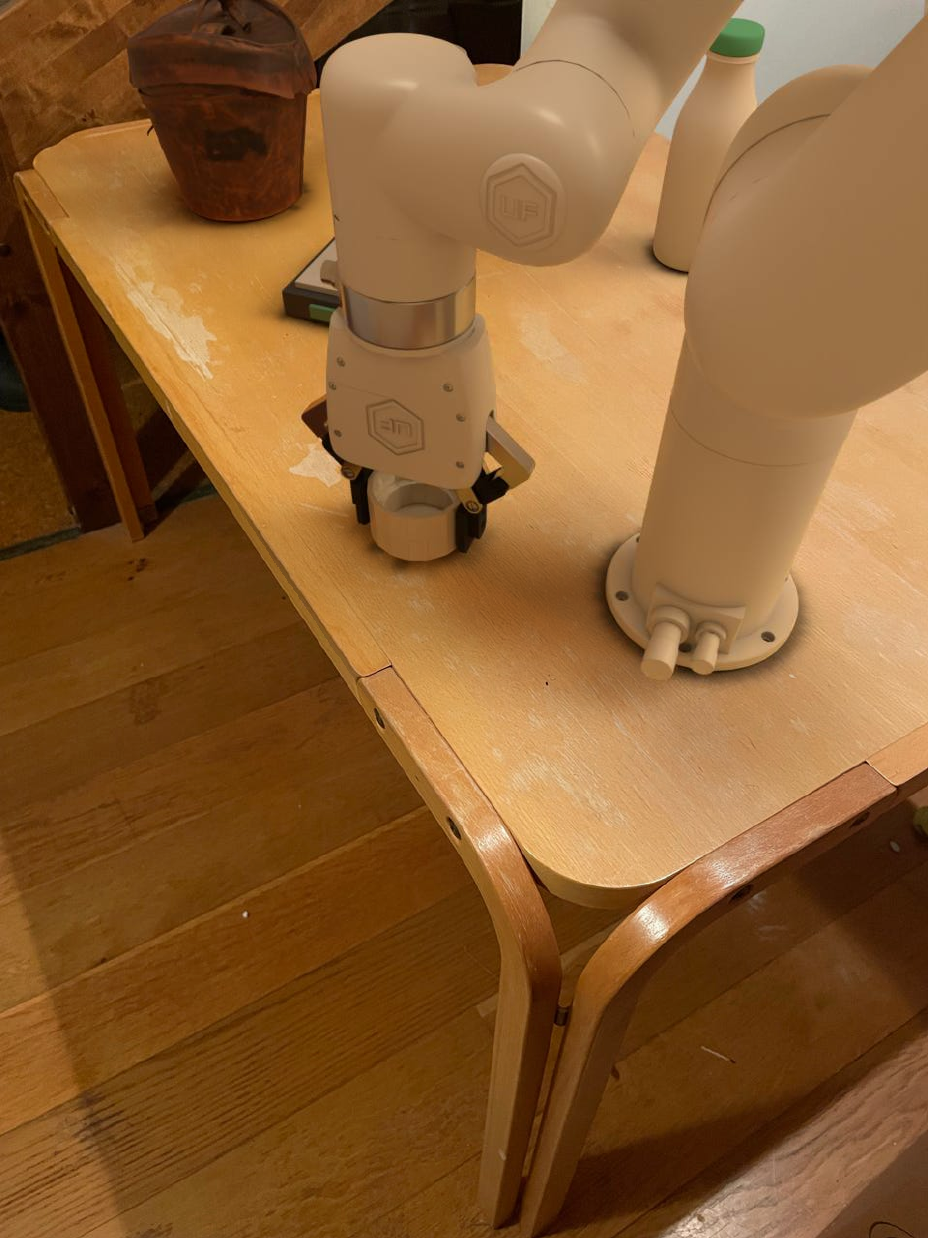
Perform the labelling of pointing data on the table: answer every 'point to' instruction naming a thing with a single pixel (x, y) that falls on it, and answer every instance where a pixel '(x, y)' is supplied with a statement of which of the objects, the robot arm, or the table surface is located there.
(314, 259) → the scale
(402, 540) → the small cup
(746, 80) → the milk bottle
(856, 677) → the table surface
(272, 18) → the brown flower pot
